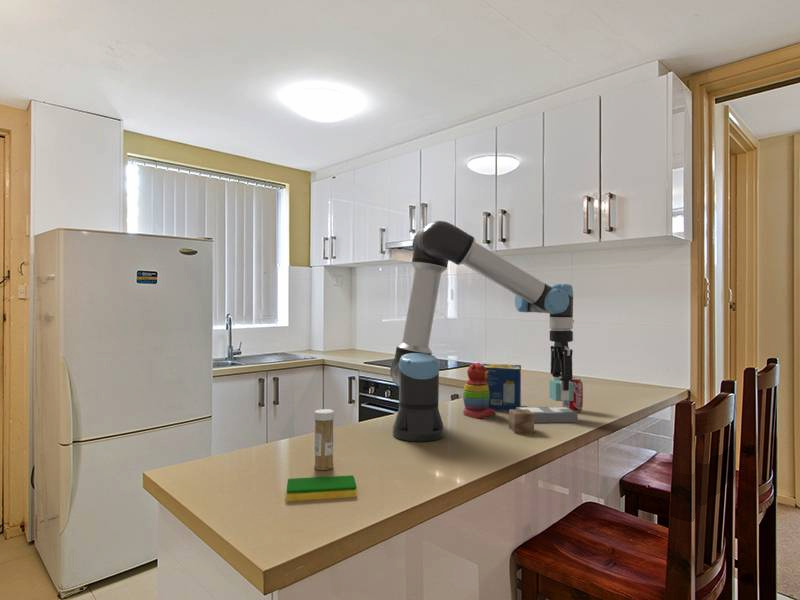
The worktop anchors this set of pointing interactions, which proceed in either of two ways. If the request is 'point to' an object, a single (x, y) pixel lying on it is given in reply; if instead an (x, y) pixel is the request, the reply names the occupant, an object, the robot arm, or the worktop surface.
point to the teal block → (556, 390)
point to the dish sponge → (321, 488)
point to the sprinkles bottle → (324, 439)
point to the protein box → (504, 386)
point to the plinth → (552, 414)
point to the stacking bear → (477, 393)
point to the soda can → (575, 396)
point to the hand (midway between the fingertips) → (561, 397)
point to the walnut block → (521, 421)
